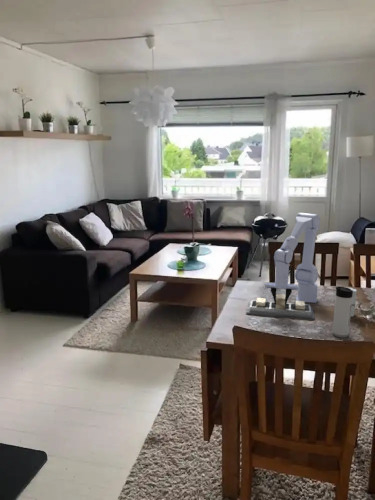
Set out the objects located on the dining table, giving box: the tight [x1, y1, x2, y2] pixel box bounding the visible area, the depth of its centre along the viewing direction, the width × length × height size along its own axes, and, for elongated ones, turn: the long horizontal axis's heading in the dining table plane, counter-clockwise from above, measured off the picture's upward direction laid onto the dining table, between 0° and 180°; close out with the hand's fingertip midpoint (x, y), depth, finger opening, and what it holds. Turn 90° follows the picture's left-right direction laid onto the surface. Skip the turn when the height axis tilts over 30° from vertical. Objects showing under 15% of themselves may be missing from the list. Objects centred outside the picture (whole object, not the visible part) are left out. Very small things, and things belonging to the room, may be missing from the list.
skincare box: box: [348, 287, 358, 317], centre depth 187 cm, size 6×4×12 cm
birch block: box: [276, 293, 286, 309], centre depth 191 cm, size 4×6×5 cm, turn 167°
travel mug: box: [331, 286, 353, 339], centre depth 165 cm, size 6×7×20 cm
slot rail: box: [245, 297, 316, 321], centre depth 191 cm, size 30×13×5 cm, turn 77°
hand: (280, 303), depth 191 cm, fingers closed on birch block, 4 cm apart
